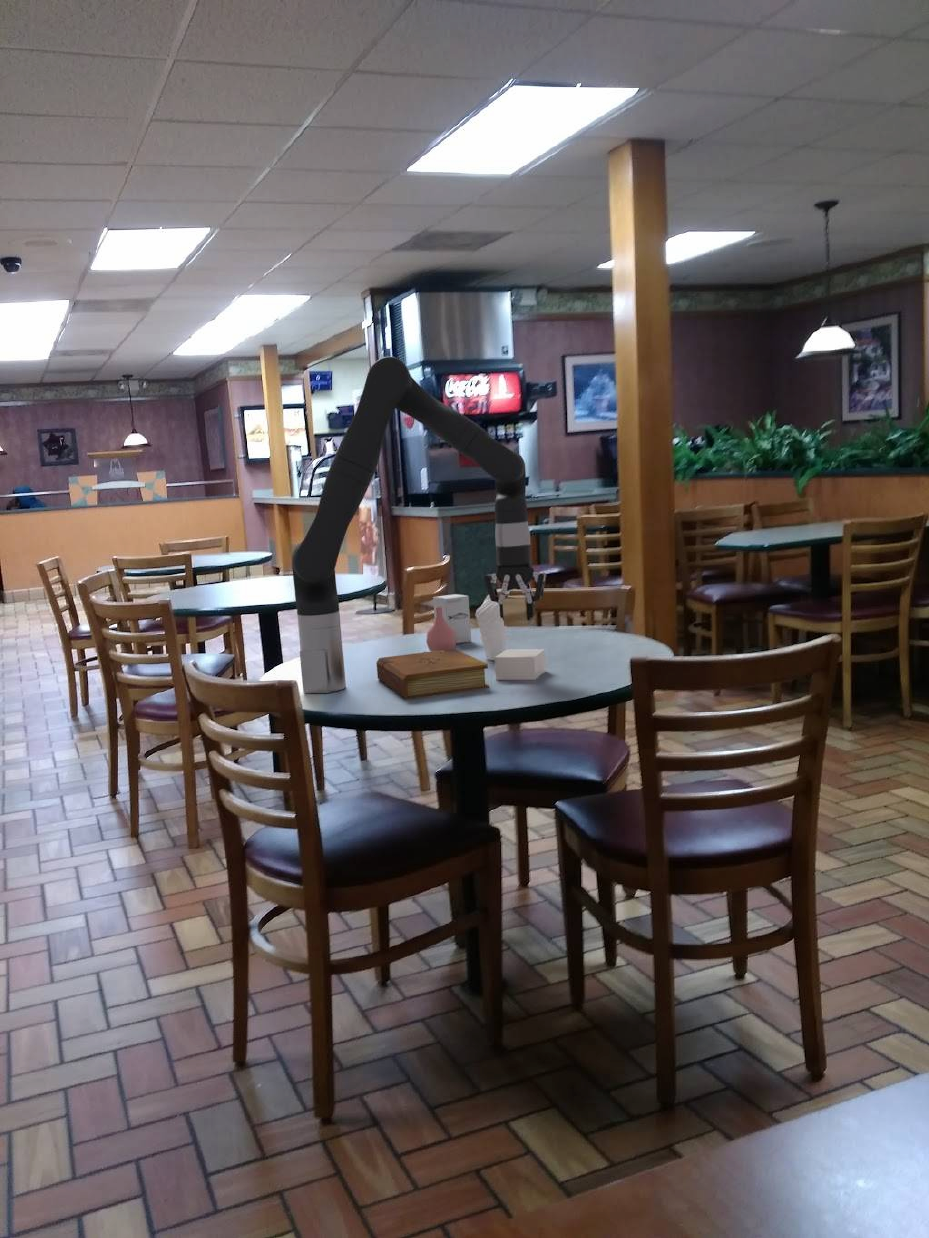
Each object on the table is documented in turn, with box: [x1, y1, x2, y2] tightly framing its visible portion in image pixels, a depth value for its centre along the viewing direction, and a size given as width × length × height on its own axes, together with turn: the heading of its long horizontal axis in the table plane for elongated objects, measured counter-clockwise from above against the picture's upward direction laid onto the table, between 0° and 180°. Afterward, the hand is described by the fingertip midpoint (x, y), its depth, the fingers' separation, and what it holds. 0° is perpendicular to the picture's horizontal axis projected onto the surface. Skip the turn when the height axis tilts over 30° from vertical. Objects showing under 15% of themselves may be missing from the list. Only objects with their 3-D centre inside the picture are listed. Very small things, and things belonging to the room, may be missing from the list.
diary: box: [376, 648, 490, 700], centre depth 224 cm, size 23×19×6 cm
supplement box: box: [432, 593, 472, 644], centre depth 276 cm, size 7×7×13 cm
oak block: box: [502, 595, 533, 627], centre depth 225 cm, size 5×5×6 cm
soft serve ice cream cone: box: [475, 594, 509, 661], centre depth 248 cm, size 8×8×16 cm
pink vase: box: [426, 607, 457, 652], centre depth 259 cm, size 8×8×12 cm
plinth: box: [494, 648, 547, 681], centre depth 227 cm, size 9×9×5 cm
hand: (517, 619), depth 225 cm, fingers closed on oak block, 5 cm apart
